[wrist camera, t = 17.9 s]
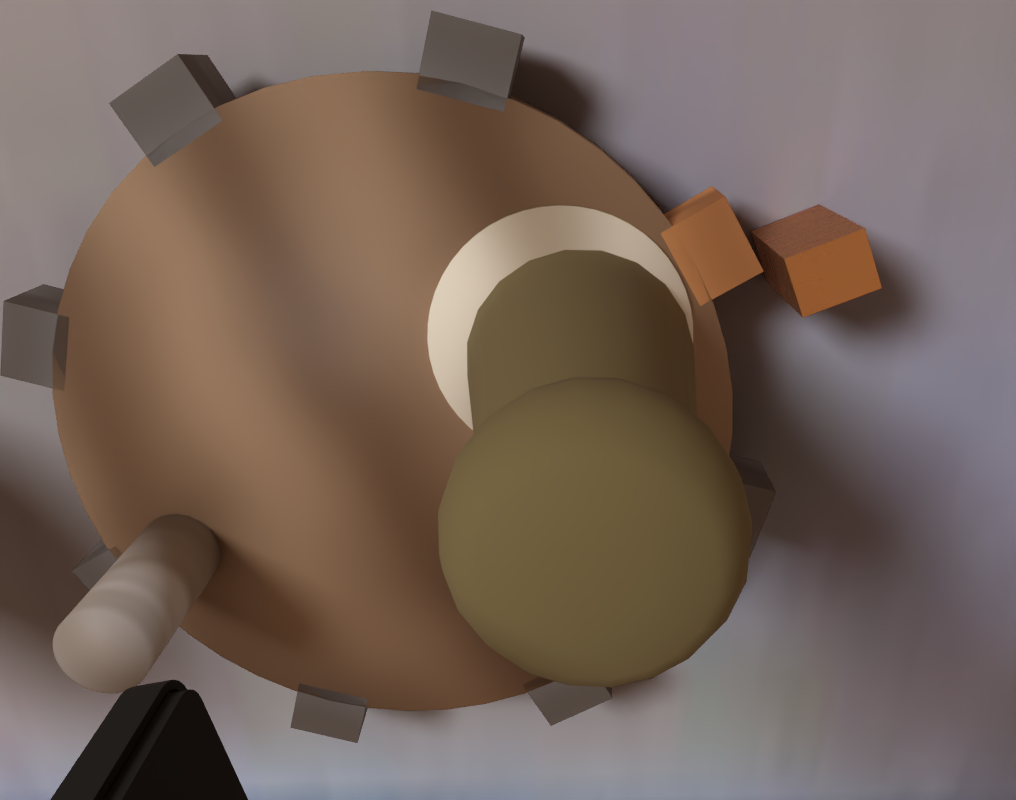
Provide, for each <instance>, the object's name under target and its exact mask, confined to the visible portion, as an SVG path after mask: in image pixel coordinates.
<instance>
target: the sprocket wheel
mask: <svg viewBox="0 0 1016 800" xmlns="http://www.w3.org/2000/svg"><path fill="white" fill-rule="evenodd" d="M524 38H525V37H524V36H523V35H522V34H518V33H514V32H510V31H506V30H503V29H499V28H495V27H491V26H488V25H484V24H480V23H476V22H472V21H469V20H465V19H461V18H457V17H454V16H450V15H446V14H442V13H438V12H435V11H431V16H430V21H429V26H428V31H427V36H426V41H425V46H424V51H423V57H422V62H421V67H420V72H419V73H403V72H382V71H364V72H352V73H341V74H330V75H320V76H311V77H307V78H303V79H298V80H294V81H290V82H286V83H282V84H278V85H274V86H269V87H265V88H262V89H260V90H257V91H255V92H252V93H250V94H247V95H245V96H242V97H240V98H237V99H236V97H235V96H234V94H233V93H232V91H231V90H230V88H229V87H228V85H227V84H226V82H225V81H224V79H223V78H222V76H221V75H220V73H219V72H218V70H217V69H216V67H215V66H214V64H213V63H212V61H211V60H210V58H209V57H208V55H187V54H177V55H176V56H174V57H173V58H171V59H170V60H169V61H167V62H166V63H165V64H163V65H162V66H160V67H159V68H158V69H156V70H155V71H153V72H152V73H151V74H149V75H148V76H146V77H145V78H144V79H142V80H141V81H140V82H138V83H137V84H135V85H134V86H133V87H131V88H130V89H128V90H127V91H126V92H124V93H123V94H121V95H120V96H119V97H117V98H116V99H115V100H113V101H112V102H110V103H109V104H110V105H111V107H112V108H113V109H114V111H115V112H116V114H117V115H118V117H119V118H120V119H121V121H122V122H123V124H124V125H125V126H126V128H127V129H128V131H129V132H130V133H131V135H132V136H133V138H134V139H135V140H136V142H137V143H138V145H139V146H140V148H141V149H142V150H143V152H144V153H145V155H146V157H144V158H143V159H142V160H141V161H140V162H139V163H138V165H137V166H136V167H135V168H134V169H133V170H132V171H131V172H130V173H129V174H128V176H127V177H126V178H125V179H124V180H123V181H122V182H121V183H120V184H119V186H118V187H117V188H116V189H115V190H114V191H113V192H112V194H111V195H110V197H109V198H108V200H107V201H106V203H105V204H104V206H103V207H102V209H101V210H100V212H99V213H98V215H97V216H96V218H95V219H94V221H93V222H92V224H91V226H90V227H89V229H88V230H87V233H86V235H85V237H84V239H83V241H82V243H81V246H80V248H79V250H78V252H77V254H76V256H75V259H74V261H73V263H72V265H71V267H70V270H69V274H68V277H67V280H66V284H65V287H64V289H60V288H56V287H52V286H48V285H44V284H43V285H41V286H38V287H36V288H34V289H31V290H29V291H26V292H24V293H22V294H19V295H17V296H15V297H12V298H10V299H8V300H5V301H4V305H3V329H2V353H1V376H4V377H9V378H13V379H17V380H21V381H25V382H29V383H33V384H37V385H41V386H45V387H50V388H53V399H54V405H55V412H56V419H57V426H58V433H59V437H60V441H61V444H62V448H63V451H64V455H65V458H66V462H67V465H68V469H69V472H70V475H71V477H72V480H73V482H74V484H75V487H76V489H77V492H78V494H79V496H80V499H81V501H82V503H83V506H84V508H85V510H86V512H87V514H88V516H89V517H90V519H91V521H92V523H93V524H94V526H95V528H96V530H97V531H98V533H99V535H100V536H101V538H102V540H101V541H100V542H99V543H98V544H97V545H96V546H95V547H94V548H93V550H92V551H91V552H90V553H89V554H88V555H87V556H86V557H85V558H84V559H83V560H82V561H81V562H80V563H79V564H78V565H77V566H76V567H75V568H74V569H73V570H72V571H73V572H74V574H75V575H76V576H77V577H78V578H79V579H80V581H81V582H82V583H83V584H84V585H85V586H86V587H87V589H88V590H89V592H88V593H87V594H86V596H85V597H84V598H83V599H82V600H81V601H80V602H79V603H78V605H77V606H76V607H75V608H74V609H73V610H72V611H71V612H70V614H69V615H68V616H67V617H66V618H65V619H64V620H63V621H62V622H61V624H60V625H59V626H58V627H57V629H56V631H55V634H54V637H53V652H54V655H55V658H56V660H57V663H58V664H59V666H60V667H61V669H62V670H63V671H64V673H65V674H66V675H67V676H68V677H70V678H71V679H72V680H73V681H75V682H76V683H78V684H79V685H81V686H83V687H85V688H87V689H90V690H93V691H96V692H102V693H119V692H124V691H125V690H126V689H128V688H131V687H134V686H137V685H138V684H139V683H140V682H141V681H142V680H143V679H144V677H145V676H146V674H147V673H148V671H149V670H150V668H151V667H152V665H153V664H154V662H155V661H156V659H157V658H158V656H159V655H160V654H161V652H162V651H163V649H164V648H165V646H166V645H167V643H168V642H169V640H170V639H171V637H172V636H173V634H174V633H175V631H176V630H177V628H178V627H179V626H180V627H181V628H182V629H183V630H184V631H186V632H187V633H188V634H189V635H191V636H192V637H194V638H195V639H197V640H198V641H200V642H201V643H202V644H204V645H205V646H207V647H208V648H210V649H211V650H213V651H214V652H216V653H217V654H219V655H220V656H222V657H223V658H225V659H227V660H229V661H231V662H233V663H235V664H237V665H238V666H240V667H242V668H244V669H246V670H248V671H250V672H252V673H253V674H255V675H257V676H260V677H262V678H265V679H267V680H270V681H272V682H274V683H277V684H279V685H282V686H284V687H287V688H289V689H292V690H294V691H298V692H297V698H296V703H295V708H294V713H293V718H292V723H291V728H295V729H299V730H303V731H308V732H312V733H316V734H321V735H325V736H329V737H334V738H338V739H342V740H347V741H351V742H355V743H357V742H358V739H359V735H360V732H361V729H362V725H363V722H364V718H365V715H366V712H367V708H377V709H391V710H405V711H416V710H443V709H453V708H460V707H467V706H474V705H480V704H487V703H490V702H494V701H498V700H502V699H506V698H509V697H513V696H517V695H521V694H524V693H528V694H529V695H530V697H531V698H532V700H533V701H534V702H535V704H536V705H537V707H538V708H539V709H540V711H541V712H542V714H543V715H544V717H545V718H546V719H547V721H548V722H549V724H550V725H551V726H552V725H554V724H556V723H558V722H561V721H563V720H565V719H567V718H570V717H572V716H574V715H576V714H578V713H581V712H583V711H585V710H587V709H590V708H592V707H594V706H596V705H598V704H601V703H603V702H605V701H607V700H610V699H612V688H611V687H592V686H569V685H565V684H562V683H559V682H556V681H553V680H549V679H546V678H543V677H540V676H536V675H533V674H530V673H528V672H527V671H525V670H523V669H522V668H520V667H519V666H517V665H516V664H514V663H513V662H511V661H510V660H508V659H507V658H505V657H503V656H502V655H500V654H499V653H497V652H496V651H494V650H493V649H492V648H491V647H489V646H488V645H487V644H485V642H484V641H483V640H482V639H481V638H480V636H479V635H478V634H477V633H476V632H475V630H474V629H473V628H472V627H471V626H470V624H469V623H468V622H467V621H466V620H465V618H464V617H463V616H462V615H461V614H460V612H459V611H458V610H457V607H456V604H455V602H454V599H453V597H452V594H451V591H450V589H449V586H448V584H447V581H446V578H445V576H444V573H443V570H442V566H441V562H440V557H439V533H438V510H439V507H440V504H441V501H442V497H443V494H444V491H445V488H446V485H447V483H448V480H449V477H450V474H451V471H452V468H453V465H454V462H455V459H456V456H457V454H458V453H459V452H460V451H461V449H462V448H463V447H464V446H465V444H466V443H467V442H468V441H469V439H470V438H471V437H472V436H473V434H474V433H473V424H472V415H471V405H470V396H469V387H468V378H467V341H468V338H469V335H470V332H471V329H472V326H473V323H474V320H475V317H476V314H477V311H478V309H479V308H480V306H481V305H482V304H483V302H484V301H485V300H486V298H487V297H488V296H489V294H490V293H491V292H492V290H493V289H494V288H495V286H496V285H497V284H498V282H499V281H500V280H502V279H503V278H505V277H506V276H508V275H509V274H511V273H512V272H513V271H515V270H516V269H518V268H519V267H521V266H522V265H523V264H525V263H526V262H528V261H529V260H533V259H536V258H539V257H543V256H546V255H549V254H552V253H556V252H559V251H562V250H602V251H605V252H608V253H611V254H614V255H617V256H620V257H623V258H625V259H628V260H631V261H634V262H637V263H638V264H640V265H641V266H642V267H644V268H645V269H646V270H647V271H649V272H650V273H651V274H653V275H654V276H655V277H657V278H658V279H659V280H660V281H662V282H663V283H664V284H666V286H667V287H668V289H669V290H670V292H671V293H672V295H673V296H674V298H675V299H676V301H677V302H678V304H679V305H680V307H681V308H682V310H683V311H684V313H685V315H686V319H687V323H688V327H689V331H690V334H691V338H692V342H693V346H694V362H695V383H696V404H697V417H698V418H699V419H700V420H702V421H703V422H704V423H706V424H707V425H708V426H709V427H710V429H711V430H712V431H713V433H714V434H715V436H716V437H717V439H718V440H719V442H720V443H721V445H722V446H723V448H724V449H725V450H726V452H727V453H728V455H729V456H730V458H731V459H732V461H733V462H734V464H735V466H736V468H737V470H738V472H739V474H740V476H741V478H742V482H743V486H744V490H745V494H746V498H747V502H748V506H749V510H750V514H751V518H752V534H751V544H750V553H749V558H750V556H751V553H752V551H753V548H754V546H755V543H756V541H757V538H758V536H759V533H760V530H761V528H762V525H763V523H764V520H765V518H766V515H767V513H768V510H769V508H770V505H771V503H772V500H773V498H774V495H775V493H776V491H775V489H774V487H773V485H772V483H771V482H770V480H769V478H768V476H767V474H766V472H765V470H764V468H763V466H762V464H761V462H758V461H754V460H750V459H746V458H742V457H738V456H734V455H730V448H731V441H732V434H733V390H732V383H731V376H730V369H729V362H728V355H727V348H726V344H725V341H724V338H723V334H722V331H721V327H720V324H719V320H718V317H717V314H716V310H715V307H714V304H713V302H712V299H714V298H716V297H718V296H720V295H721V294H723V293H725V292H727V291H729V290H731V289H732V288H734V287H736V286H738V285H740V284H742V283H743V282H745V281H747V280H749V279H751V278H753V277H754V276H756V275H758V274H760V273H762V272H763V269H762V267H761V265H760V263H759V261H758V259H757V257H756V255H755V253H754V251H753V249H752V247H751V246H750V244H749V242H748V240H747V238H746V236H745V234H744V232H743V230H742V228H741V226H740V224H739V222H738V220H737V218H736V216H735V215H734V213H733V211H732V209H731V207H730V205H729V203H728V201H727V199H726V197H725V196H724V195H723V194H721V193H720V192H719V191H717V190H716V189H715V188H714V187H712V186H711V187H710V188H708V189H706V190H705V191H703V192H701V193H699V194H698V195H696V196H694V197H692V198H691V199H689V200H687V201H685V202H684V203H682V204H680V205H679V206H677V207H675V208H673V209H672V210H670V211H668V212H666V213H665V214H663V213H662V211H661V210H660V209H659V208H658V207H657V205H656V204H655V203H654V202H653V201H652V199H651V198H650V197H649V196H648V195H647V194H646V192H645V191H644V190H643V189H642V188H641V186H640V185H639V184H638V183H637V182H636V181H635V179H634V178H633V177H632V176H631V175H630V174H629V173H628V172H627V171H626V170H625V169H623V168H622V167H621V166H620V165H619V164H618V163H617V162H616V161H615V160H613V159H612V158H611V157H610V156H609V155H608V154H607V153H606V152H605V151H603V150H602V149H601V148H600V147H599V146H598V145H597V144H595V143H594V142H592V141H591V140H589V139H588V138H586V137H585V136H583V135H582V134H580V133H579V132H578V131H576V130H575V129H573V128H572V127H570V126H569V125H567V124H566V123H564V122H563V121H561V120H560V119H558V118H556V117H554V116H552V115H550V114H548V113H546V112H544V111H542V110H540V109H538V108H536V107H534V106H532V105H530V104H528V103H526V102H524V101H522V100H520V99H518V98H516V97H513V96H511V93H512V89H513V85H514V80H515V76H516V72H517V68H518V63H519V59H520V55H521V50H522V46H523V42H524Z"/></svg>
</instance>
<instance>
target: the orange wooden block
mask: <svg viewBox="0 0 1016 800" xmlns="http://www.w3.org/2000/svg"><path fill="white" fill-rule="evenodd" d="M751 233H752V236H753V239H754V242H755V245H756V248H757V251H758V254H759V257H760V260H761V264H762V267H763V270H764V273H765V276H766V279H767V282H768V283H769V284H770V285H771V286H772V287H773V288H774V289H775V290H776V291H777V292H778V293H779V294H780V295H781V296H782V297H783V298H784V299H785V300H786V301H787V302H788V303H789V304H790V305H791V306H792V307H793V308H794V309H795V310H796V311H797V312H798V313H799V314H800V315H801V316H802V317H806V316H808V315H811V314H814V313H816V312H819V311H822V310H824V309H827V308H830V307H833V306H835V305H838V304H841V303H843V302H846V301H849V300H851V299H854V298H857V297H859V296H862V295H865V294H867V293H870V292H873V291H876V290H878V289H881V288H882V287H881V283H880V280H879V276H878V273H877V269H876V266H875V262H874V259H873V255H872V252H871V248H870V245H869V241H868V238H867V234H866V231H865V228H863V227H862V226H860V225H858V224H856V223H854V222H852V221H850V220H848V219H846V218H844V217H842V216H840V215H838V214H836V213H834V212H833V211H831V210H829V209H827V208H825V207H823V206H821V205H817V206H814V207H811V208H809V209H806V210H804V211H801V212H799V213H796V214H794V215H791V216H789V217H786V218H784V219H781V220H778V221H776V222H773V223H771V224H768V225H766V226H763V227H761V228H758V229H756V230H753V231H751Z"/></svg>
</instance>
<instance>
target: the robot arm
mask: <svg viewBox="0 0 1016 800" xmlns="http://www.w3.org/2000/svg"><path fill="white" fill-rule="evenodd" d="M51 800H248V799H247V796H246V794H245V792H244V790H243V788H242V786H241V783H240V781H239V779H238V777H237V775H236V773H235V770H234V768H233V766H232V764H231V762H230V760H229V757H228V755H227V753H226V751H225V749H224V747H223V744H222V742H221V740H220V738H219V736H218V734H217V731H216V729H215V727H214V725H213V723H212V721H211V718H210V716H209V714H208V712H207V710H206V708H205V705H204V703H203V701H202V699H201V697H200V696H199V694H198V693H197V692H196V691H194V690H187V689H186V687H185V686H184V685H183V684H182V683H181V682H180V681H177V680H169V681H163V682H157V683H152V684H146V685H140V686H134V687H131V688H128V689H126V690H125V691H124V692H123V693H122V694H121V695H120V697H119V698H118V700H117V701H116V703H115V704H114V706H113V707H112V709H111V710H110V712H109V713H108V715H107V716H106V718H105V719H104V721H103V722H102V724H101V725H100V727H99V728H98V730H97V731H96V733H95V734H94V736H93V737H92V739H91V740H90V742H89V743H88V745H87V746H86V748H85V749H84V751H83V752H82V754H81V755H80V757H79V758H78V759H77V761H76V762H75V764H74V765H73V767H72V768H71V770H70V771H69V773H68V774H67V776H66V777H65V779H64V780H63V782H62V783H61V785H60V786H59V788H58V789H57V791H56V792H55V794H54V795H53V797H52V798H51Z"/></svg>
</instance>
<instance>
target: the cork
mask: <svg viewBox="0 0 1016 800" xmlns="http://www.w3.org/2000/svg"><path fill="white" fill-rule="evenodd" d="M467 378H468V387H469V396H470V405H471V415H472V424H473V433H474V434H473V436H472V437H471V438H470V439H469V441H468V442H467V443H466V444H465V446H464V447H463V448H462V449H461V451H460V452H459V453H458V454H457V456H456V459H455V462H454V465H453V468H452V471H451V474H450V477H449V480H448V483H447V485H446V488H445V491H444V494H443V497H442V501H441V504H440V507H439V510H438V533H439V557H440V562H441V566H442V570H443V573H444V576H445V578H446V581H447V584H448V586H449V589H450V591H451V594H452V597H453V599H454V602H455V604H456V607H457V610H458V611H459V612H460V614H461V615H462V616H463V617H464V618H465V620H466V621H467V622H468V623H469V624H470V626H471V627H472V628H473V629H474V630H475V632H476V633H477V634H478V635H479V636H480V638H481V639H482V640H483V641H484V642H485V644H487V645H488V646H489V647H491V648H492V649H493V650H494V651H496V652H497V653H499V654H500V655H502V656H503V657H505V658H507V659H508V660H510V661H511V662H513V663H514V664H516V665H517V666H519V667H520V668H522V669H523V670H525V671H527V672H528V673H530V674H533V675H536V676H540V677H543V678H546V679H549V680H553V681H556V682H559V683H562V684H565V685H569V686H592V687H614V686H619V685H623V684H628V683H632V682H637V681H641V680H646V679H650V678H653V677H655V676H657V675H659V674H661V673H662V672H664V671H666V670H668V669H670V668H672V667H674V666H676V665H677V664H679V663H681V662H683V661H685V660H687V659H689V658H690V657H691V656H692V655H693V654H694V653H695V652H696V651H697V650H698V649H699V648H700V647H701V646H702V645H703V644H704V643H705V642H706V641H707V640H708V639H709V638H710V637H711V636H712V635H713V634H714V633H715V632H716V631H717V630H718V629H719V628H720V627H721V626H722V625H723V624H724V623H725V622H726V621H727V619H728V617H729V615H730V613H731V611H732V609H733V607H734V605H735V603H736V601H737V599H738V597H739V595H740V593H741V591H742V589H743V587H744V585H745V583H746V579H747V570H748V562H749V553H750V544H751V534H752V518H751V514H750V510H749V506H748V502H747V498H746V494H745V490H744V486H743V482H742V478H741V476H740V474H739V472H738V470H737V468H736V466H735V464H734V462H733V461H732V459H731V458H730V456H729V455H728V453H727V452H726V450H725V449H724V448H723V446H722V445H721V443H720V442H719V440H718V439H717V437H716V436H715V434H714V433H713V431H712V430H711V429H710V427H709V426H708V425H707V424H706V423H704V422H703V421H702V420H700V419H699V418H698V417H697V404H696V383H695V362H694V346H693V342H692V338H691V334H690V331H689V327H688V323H687V319H686V315H685V313H684V311H683V310H682V308H681V307H680V305H679V304H678V302H677V301H676V299H675V298H674V296H673V295H672V293H671V292H670V290H669V289H668V287H667V286H666V284H664V283H663V282H662V281H660V280H659V279H658V278H657V277H655V276H654V275H653V274H651V273H650V272H649V271H647V270H646V269H645V268H644V267H642V266H641V265H640V264H638V263H637V262H634V261H631V260H628V259H625V258H623V257H620V256H617V255H614V254H611V253H608V252H605V251H602V250H562V251H559V252H556V253H552V254H549V255H546V256H543V257H539V258H536V259H533V260H529V261H528V262H526V263H525V264H523V265H522V266H521V267H519V268H518V269H516V270H515V271H513V272H512V273H511V274H509V275H508V276H506V277H505V278H503V279H502V280H500V281H499V282H498V284H497V285H496V286H495V288H494V289H493V290H492V292H491V293H490V294H489V296H488V297H487V298H486V300H485V301H484V302H483V304H482V305H481V306H480V308H479V309H478V311H477V314H476V317H475V320H474V323H473V326H472V329H471V332H470V335H469V338H468V341H467Z"/></svg>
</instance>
